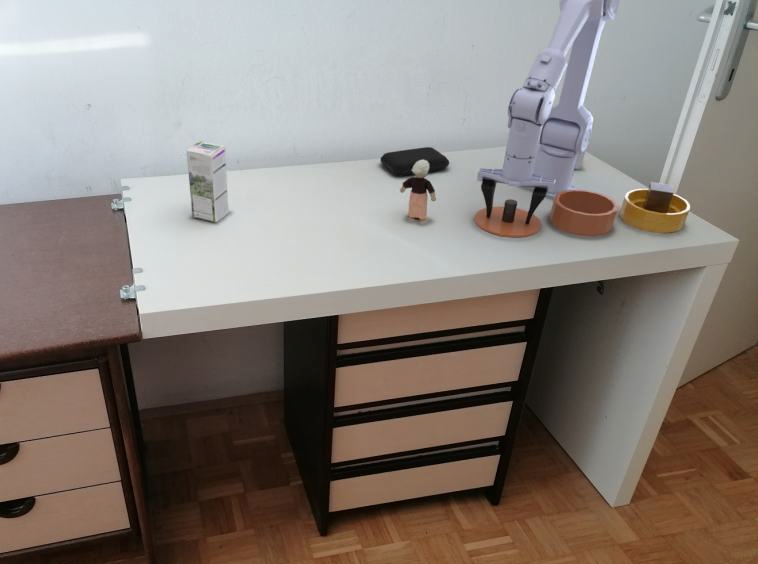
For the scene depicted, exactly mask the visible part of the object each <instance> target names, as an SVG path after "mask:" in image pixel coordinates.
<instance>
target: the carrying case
mask: <svg viewBox="0 0 758 564" xmlns="http://www.w3.org/2000/svg"><path fill="white" fill-rule="evenodd" d="M419 160H426V161H428V163H429V167H430V168H429V171H428V173H431V172H436V171H441V170H445V169H446V168H448V167H449V165H450V160H449V159H448V157H446V156H445V154H442V153H441V152H440V151H438V150H437V149H435V148H433V147H431V146H425V147H418V148H410V149H403V150H395V151H389V152H385V153H383V154H382V156H381V157H380V159H379V161H380V163H381V164H382V165H383V166H384V167H385V168H386V169H388V170H389V171H390V172H391V173H393V174H394V175H395V176H399V177H404V176H409V175H415V173H413V172H412V169H413V166H414V165H415V163H416V162H418V161H419Z"/></svg>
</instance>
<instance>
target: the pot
mask: <svg viewBox="0 0 758 564" xmlns="http://www.w3.org/2000/svg"><path fill="white" fill-rule="evenodd" d="M552 200H553V201H552V205H551V209H550V213H549V221H550V223H551V225H553V226H554V227H555V228H557V229H558V230H560V231H563V232H564V233H567V234H572V235H576V236H580V237H581V236H582V237H599V236H604V235H607V234H608V233H610V232H612V229H613V226H614V223H615V220H616V216H617V213H618V210H619V205H618V204H617V202H616V200H614V199H613V198H611V197H610V196H608V195H605V194H603V193H600V192H597V191H592V190H586V189H577V190H566V191H562V192H560V193H557V194H556V196H555V197H553V199H552Z"/></svg>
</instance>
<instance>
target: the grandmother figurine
mask: <svg viewBox="0 0 758 564" xmlns="http://www.w3.org/2000/svg"><path fill="white" fill-rule="evenodd" d="M429 168H430V167H429V163H428V161H426V160H419V161H418V162H416V163H415V165H414V166H413V169H412V172H413V173H415V174H414V175H415V176H411V177H409V178H407V179H406V180H404V181H403V182H402V185H401V187H400V188H399V193H405V192H406V190H407V189H411V190H410V194H409V198H408V210H407V211H408V213H407V215H408V219H409V220H414V219H416V218H417V219H418V221H419V222H426V221H429V219H430V218H429V217H428V216H427V214H428V194H429V196H430V201H432V202H436V201H437V196H436V193H435V192H436V189H435V187H434V186H433V184H432V182H431V181H430V180H429V179H427V178H426V177H427V176H428V174H429V172H428V171H429Z"/></svg>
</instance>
